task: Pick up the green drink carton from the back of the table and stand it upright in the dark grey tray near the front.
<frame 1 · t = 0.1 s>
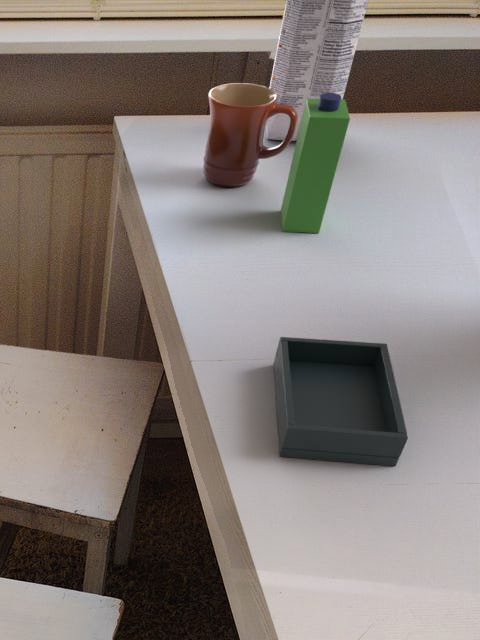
green drink carton: (299, 221, 106), on the table
mug: (239, 181, 114), on the table
juice carton: (295, 134, 124), on the table
dark grey tray: (330, 412, 80), on the table
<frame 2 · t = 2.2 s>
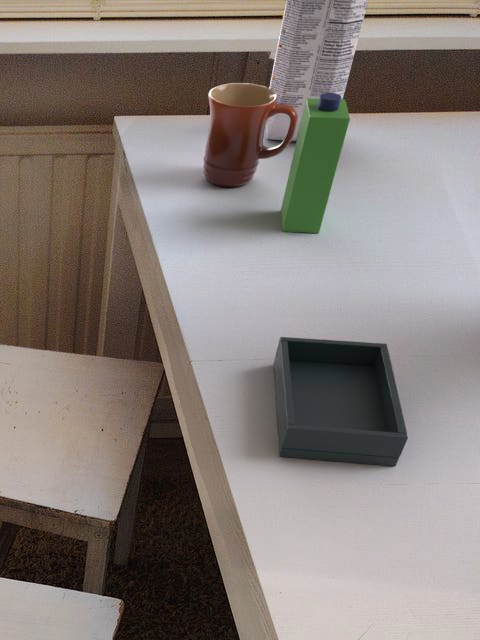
nothing on the table moved.
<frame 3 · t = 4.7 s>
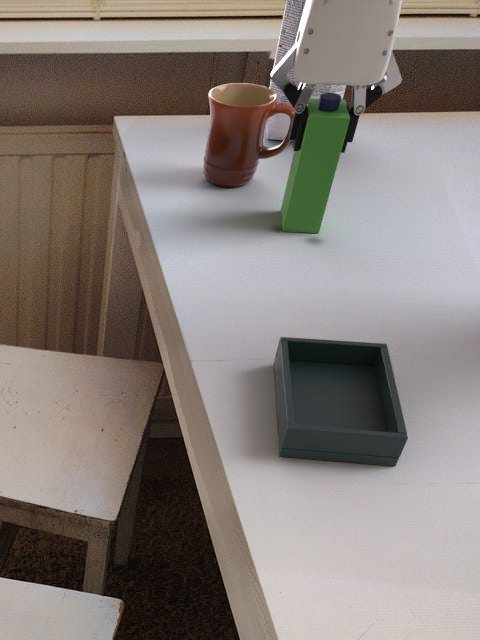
hand: (318, 145, 99), 9 cm above the table, tool pointing down, fingers closed on green drink carton, 4 cm apart
green drink carton: (299, 221, 106), on the table, touching gripper
everything else where it was.
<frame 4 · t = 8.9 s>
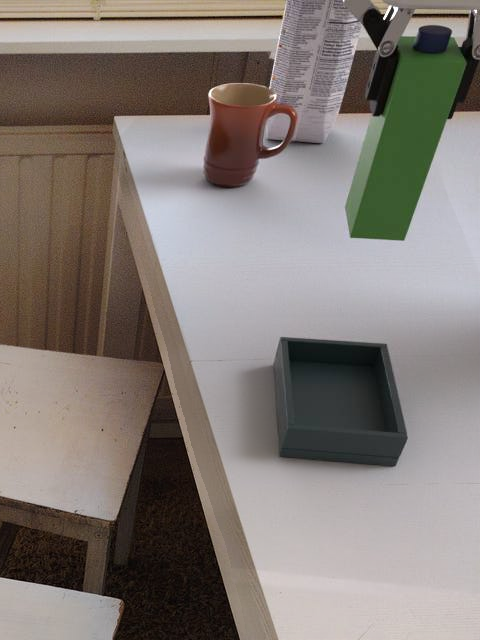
hand: (410, 109, 65), 24 cm above the table, tool pointing down, fingers closed on green drink carton, 4 cm apart
green drink carton: (373, 223, 72), point 15 cm above the table, touching gripper
everything else where it was.
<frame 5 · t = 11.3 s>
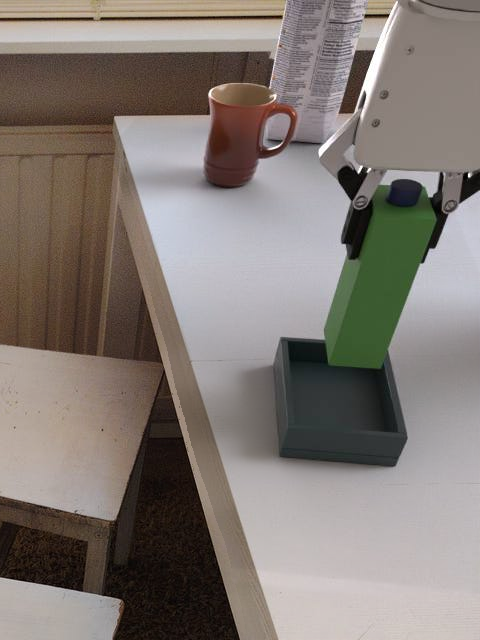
hand: (384, 251, 68), 16 cm above the table, tool pointing down, fingers closed on green drink carton, 4 cm apart
green drink carton: (351, 349, 75), point 7 cm above the table, touching gripper
everything else where it was.
when the fingers open (10 cm above the table, at t = 13.1 s): green drink carton stays where it is, resting on dark grey tray.
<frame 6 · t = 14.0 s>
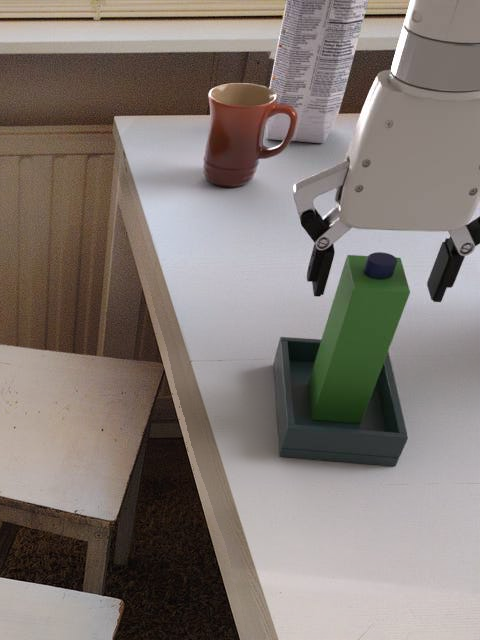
hand: (374, 291, 71), 12 cm above the table, tool pointing down, fingers open, 9 cm apart
green drink carton: (333, 403, 80), point 1 cm above the table, touching dark grey tray
everything else where it was.
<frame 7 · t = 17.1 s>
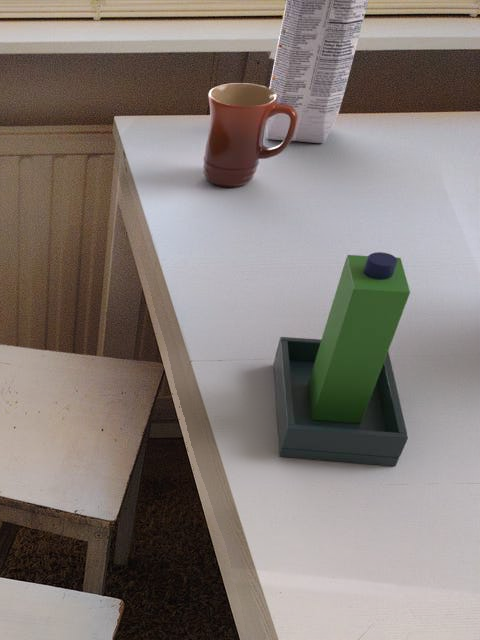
nothing on the table moved.
at the end: green drink carton inside the target area in the dark grey tray (0.0 cm from its centre), point 1.0 cm above the dark grey tray's base; green drink carton tilted 0°; the gripper is holding nothing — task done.
